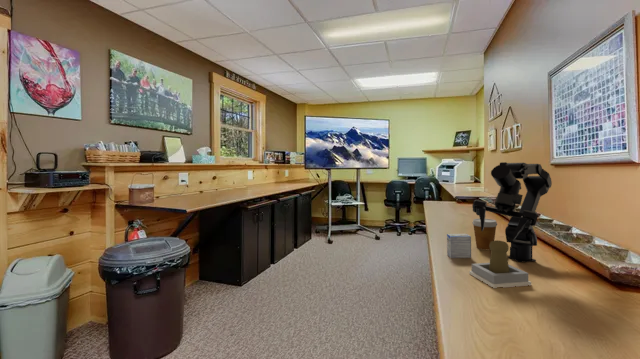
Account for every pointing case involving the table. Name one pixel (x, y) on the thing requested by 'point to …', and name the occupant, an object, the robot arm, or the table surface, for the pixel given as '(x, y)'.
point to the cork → (499, 257)
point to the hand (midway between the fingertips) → (497, 234)
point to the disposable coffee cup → (484, 233)
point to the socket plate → (500, 276)
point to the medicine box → (459, 245)
